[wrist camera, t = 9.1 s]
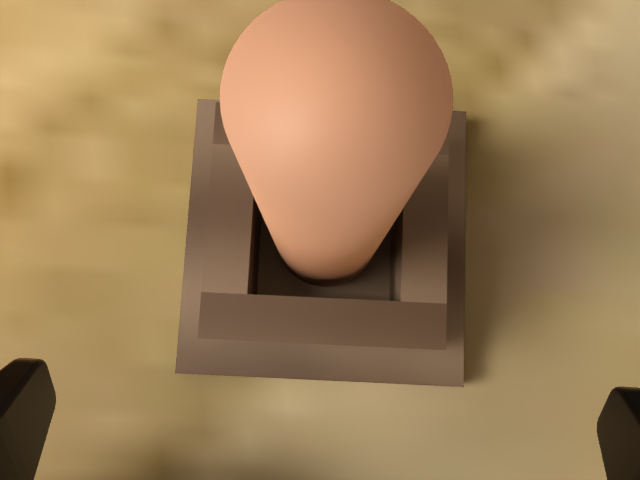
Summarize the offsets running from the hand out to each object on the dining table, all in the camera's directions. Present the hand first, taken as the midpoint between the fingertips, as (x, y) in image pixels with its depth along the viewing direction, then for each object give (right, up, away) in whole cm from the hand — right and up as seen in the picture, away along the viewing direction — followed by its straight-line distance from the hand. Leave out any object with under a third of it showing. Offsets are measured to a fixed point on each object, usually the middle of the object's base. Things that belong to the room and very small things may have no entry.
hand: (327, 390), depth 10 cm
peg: (0, +2, +12) cm, 12 cm away
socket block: (0, +2, +13) cm, 13 cm away
